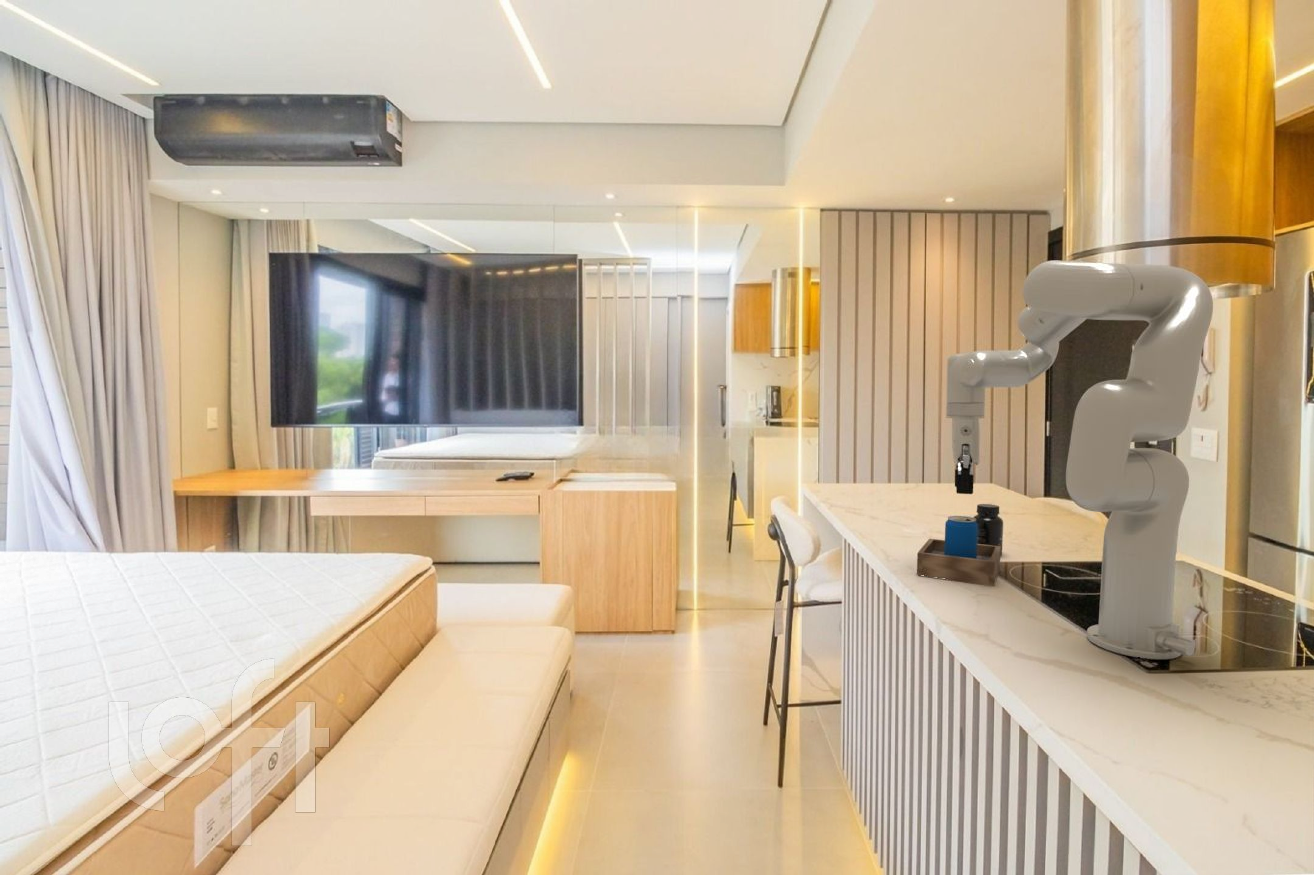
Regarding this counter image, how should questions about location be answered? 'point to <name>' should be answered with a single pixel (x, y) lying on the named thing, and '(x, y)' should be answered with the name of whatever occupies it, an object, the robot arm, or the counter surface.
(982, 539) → the supplement bottle
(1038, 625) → the counter surface
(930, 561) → the bore box
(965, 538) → the beverage can
